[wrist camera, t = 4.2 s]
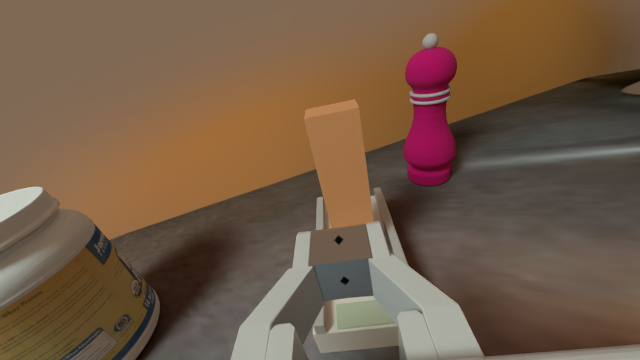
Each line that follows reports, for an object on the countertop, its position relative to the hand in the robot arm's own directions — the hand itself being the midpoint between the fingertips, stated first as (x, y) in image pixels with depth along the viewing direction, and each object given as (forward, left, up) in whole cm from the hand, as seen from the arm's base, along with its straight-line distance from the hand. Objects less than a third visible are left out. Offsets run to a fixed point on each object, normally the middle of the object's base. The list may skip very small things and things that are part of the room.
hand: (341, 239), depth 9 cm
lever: (+11, -6, -13) cm, 18 cm away
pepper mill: (+18, -25, -17) cm, 35 cm away
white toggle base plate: (+11, -6, -17) cm, 21 cm away
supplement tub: (+20, +21, -17) cm, 33 cm away
